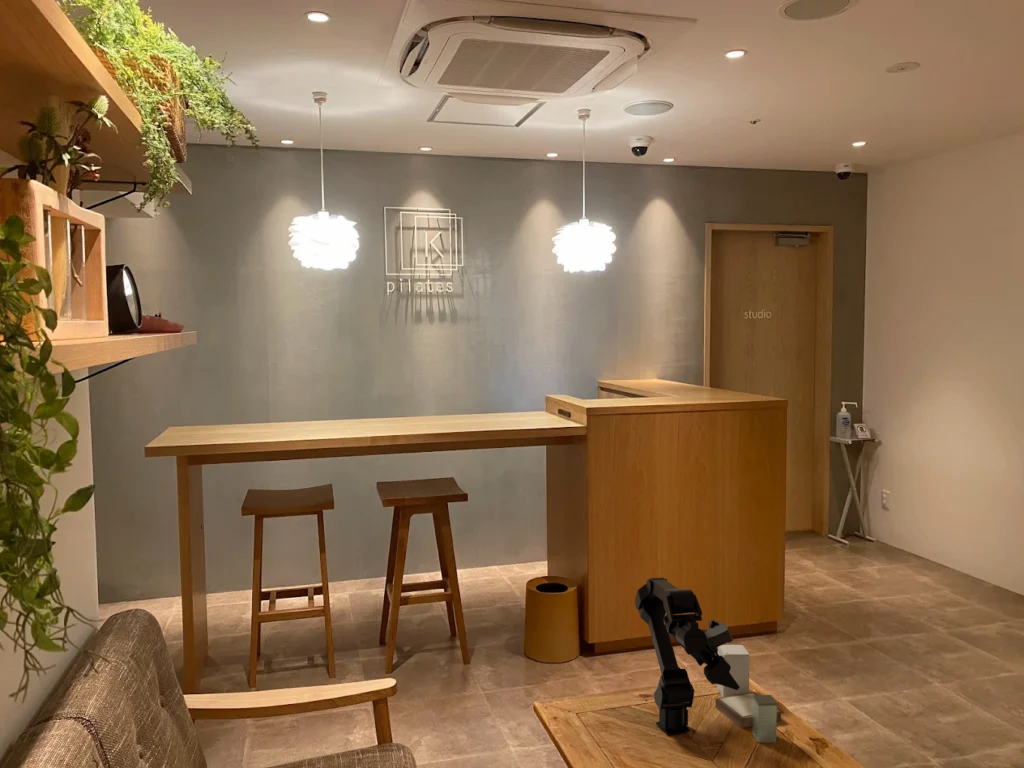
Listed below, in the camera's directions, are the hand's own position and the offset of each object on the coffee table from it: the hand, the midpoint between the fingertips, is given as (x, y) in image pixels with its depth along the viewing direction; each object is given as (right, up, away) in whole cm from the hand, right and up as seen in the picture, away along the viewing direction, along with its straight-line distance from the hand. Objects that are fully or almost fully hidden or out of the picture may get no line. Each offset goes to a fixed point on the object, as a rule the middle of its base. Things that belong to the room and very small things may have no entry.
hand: (733, 680), depth 205 cm
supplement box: (+7, -13, +26) cm, 30 cm away
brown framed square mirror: (+8, -14, +14) cm, 21 cm away
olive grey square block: (+8, -15, +1) cm, 17 cm away
